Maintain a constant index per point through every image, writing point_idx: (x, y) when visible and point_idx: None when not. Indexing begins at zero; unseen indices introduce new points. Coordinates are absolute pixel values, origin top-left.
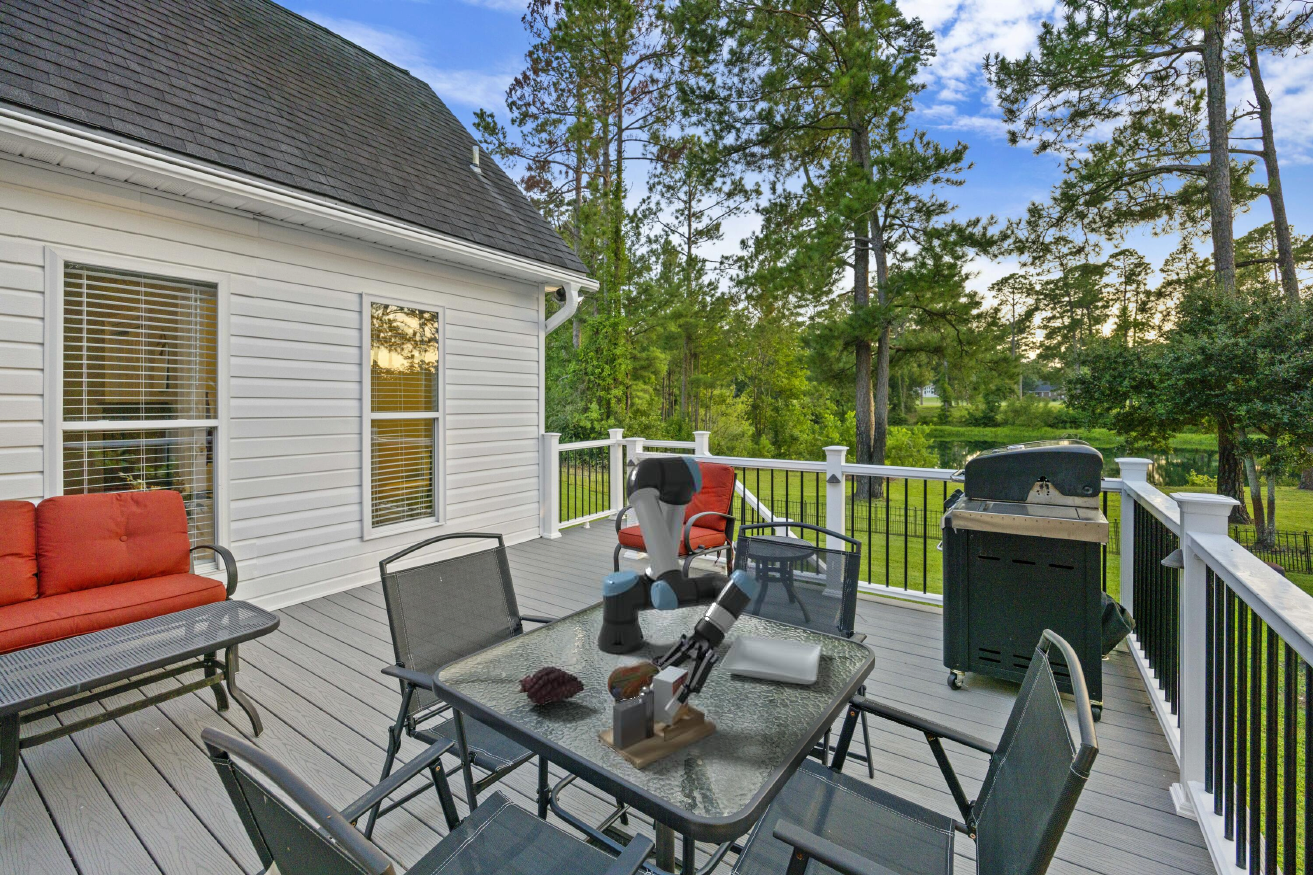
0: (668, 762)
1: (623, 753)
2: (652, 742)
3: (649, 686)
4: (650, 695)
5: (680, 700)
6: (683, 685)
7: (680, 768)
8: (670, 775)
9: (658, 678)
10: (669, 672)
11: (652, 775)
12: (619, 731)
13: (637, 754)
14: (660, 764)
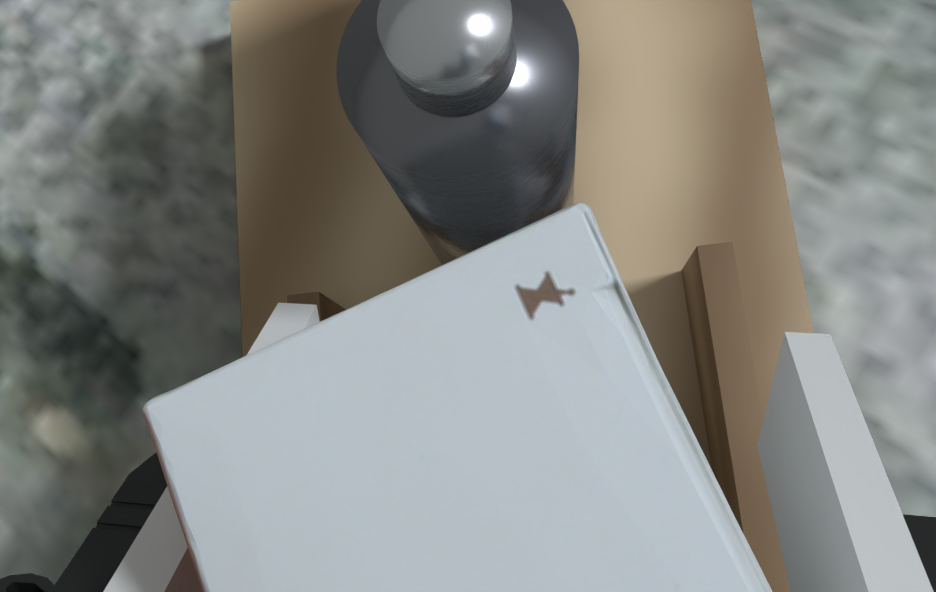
0: (187, 238)
1: None
2: (378, 219)
3: (446, 76)
4: (348, 68)
5: (138, 471)
6: (19, 579)
7: (86, 268)
8: (73, 170)
9: (468, 270)
10: None
11: (145, 75)
12: None
13: (315, 47)
14: (204, 180)
